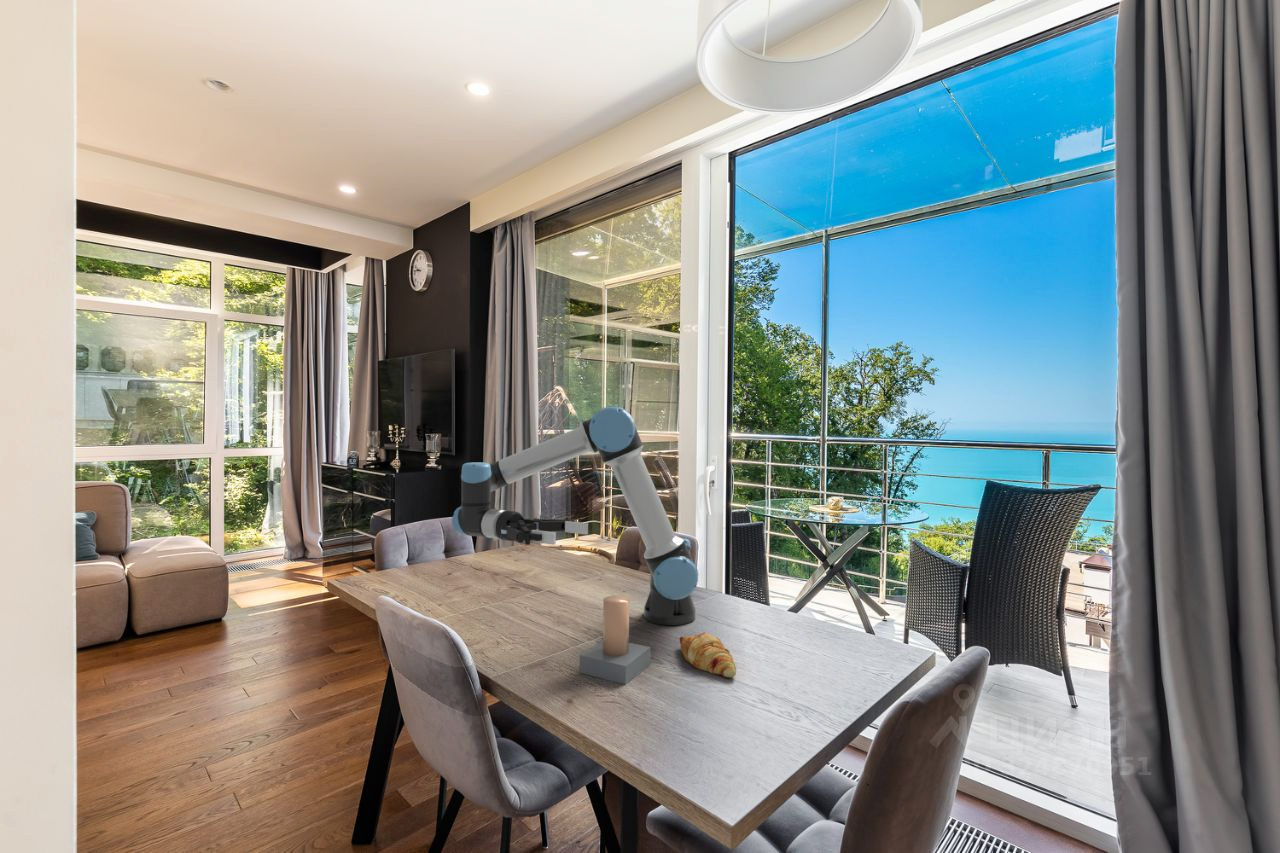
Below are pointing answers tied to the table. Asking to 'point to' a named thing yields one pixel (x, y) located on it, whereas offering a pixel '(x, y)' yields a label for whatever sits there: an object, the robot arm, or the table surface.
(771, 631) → the table surface
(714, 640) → the croissant
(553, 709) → the table surface
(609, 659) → the pedestal
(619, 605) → the canister
